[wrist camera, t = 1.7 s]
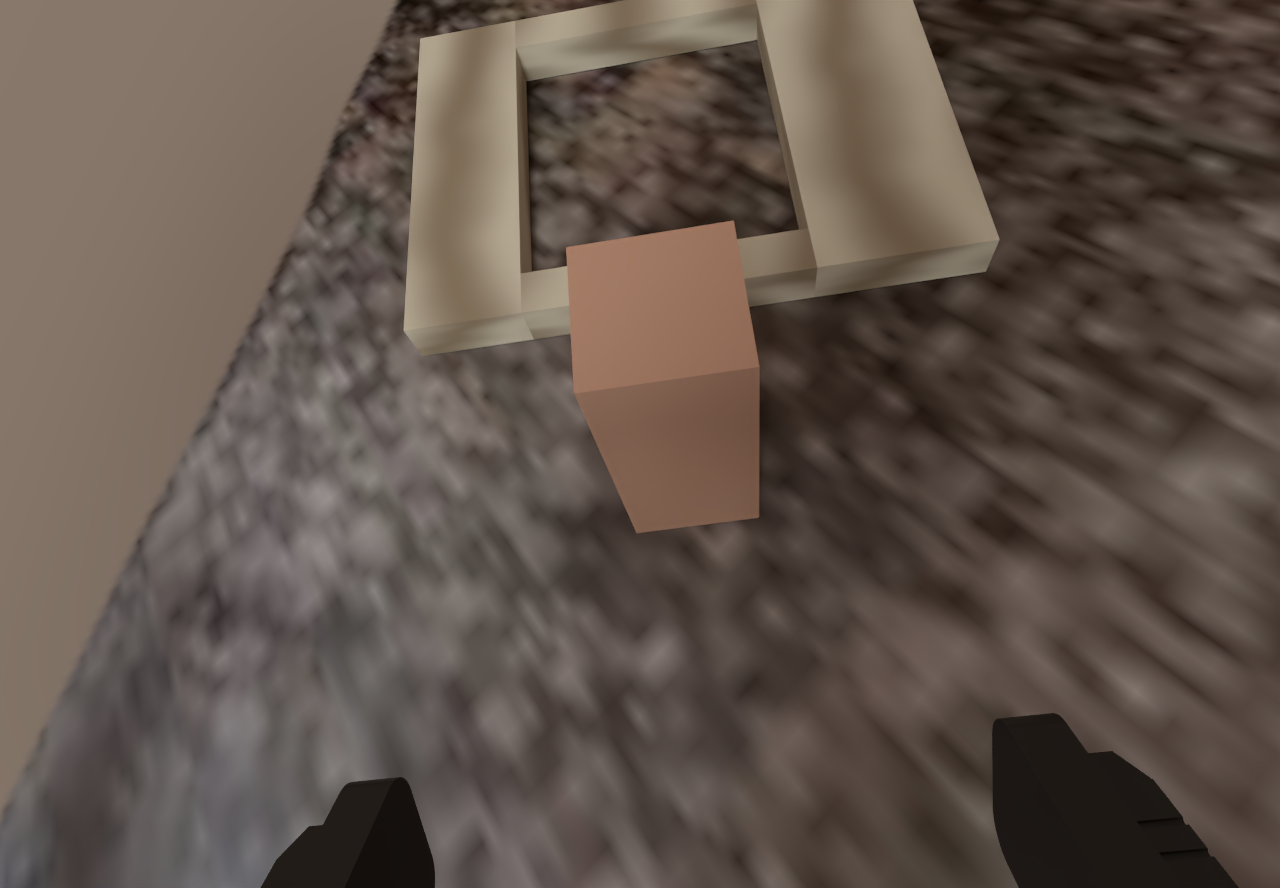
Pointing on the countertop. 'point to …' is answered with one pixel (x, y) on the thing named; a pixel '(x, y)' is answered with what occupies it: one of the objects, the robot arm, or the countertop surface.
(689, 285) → the tall salmon pink block
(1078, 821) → the robot arm
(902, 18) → the beige lopsided picture frame
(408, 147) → the countertop surface
